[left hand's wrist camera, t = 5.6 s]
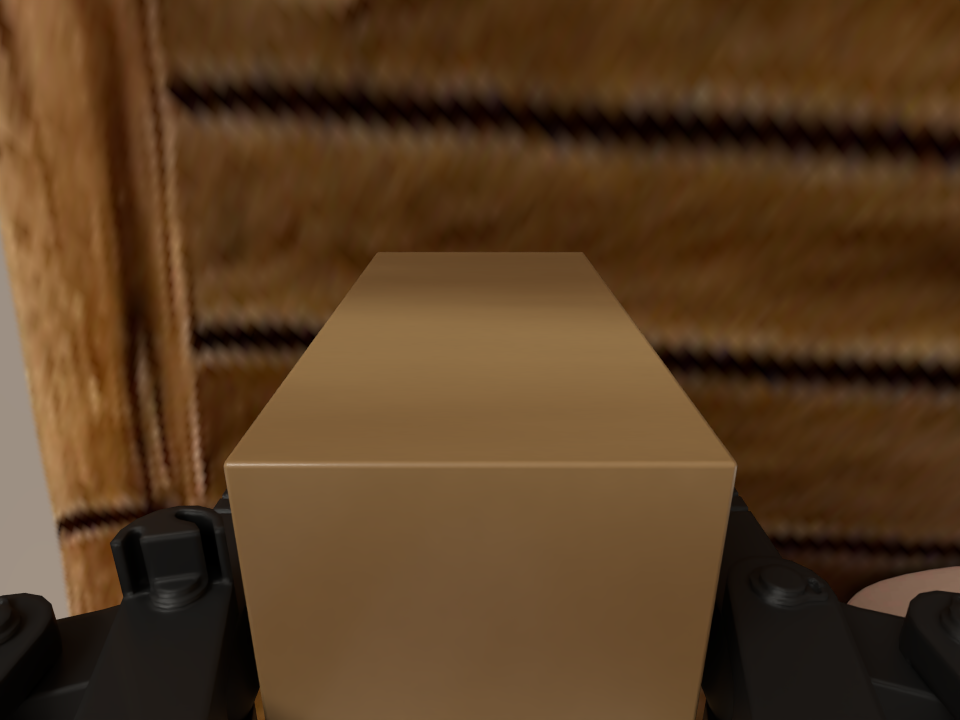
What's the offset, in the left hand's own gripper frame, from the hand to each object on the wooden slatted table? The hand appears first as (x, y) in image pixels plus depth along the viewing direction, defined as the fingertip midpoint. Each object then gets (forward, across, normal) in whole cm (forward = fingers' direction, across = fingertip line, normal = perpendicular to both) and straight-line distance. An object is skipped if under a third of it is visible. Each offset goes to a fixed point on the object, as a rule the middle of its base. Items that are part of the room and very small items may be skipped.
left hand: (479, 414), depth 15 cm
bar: (+1, 0, -9) cm, 9 cm away
